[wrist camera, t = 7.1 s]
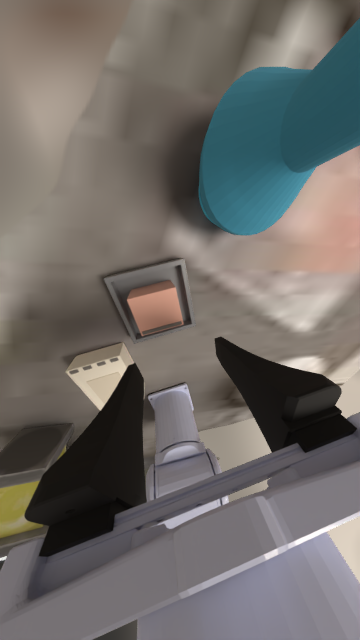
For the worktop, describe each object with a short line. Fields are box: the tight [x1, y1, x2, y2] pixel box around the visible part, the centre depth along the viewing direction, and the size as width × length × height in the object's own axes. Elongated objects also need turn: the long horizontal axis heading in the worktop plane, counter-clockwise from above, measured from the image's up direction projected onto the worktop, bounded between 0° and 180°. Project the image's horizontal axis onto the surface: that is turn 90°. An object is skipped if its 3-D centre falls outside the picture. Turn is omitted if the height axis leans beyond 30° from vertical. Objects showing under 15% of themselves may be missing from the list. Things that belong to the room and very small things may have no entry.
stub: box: [127, 280, 183, 336], centre depth 17 cm, size 4×5×4 cm
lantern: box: [0, 423, 74, 558], centre depth 28 cm, size 8×17×30 cm
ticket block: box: [65, 342, 145, 411], centre depth 21 cm, size 10×7×3 cm
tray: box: [104, 258, 196, 344], centre depth 18 cm, size 9×9×2 cm
